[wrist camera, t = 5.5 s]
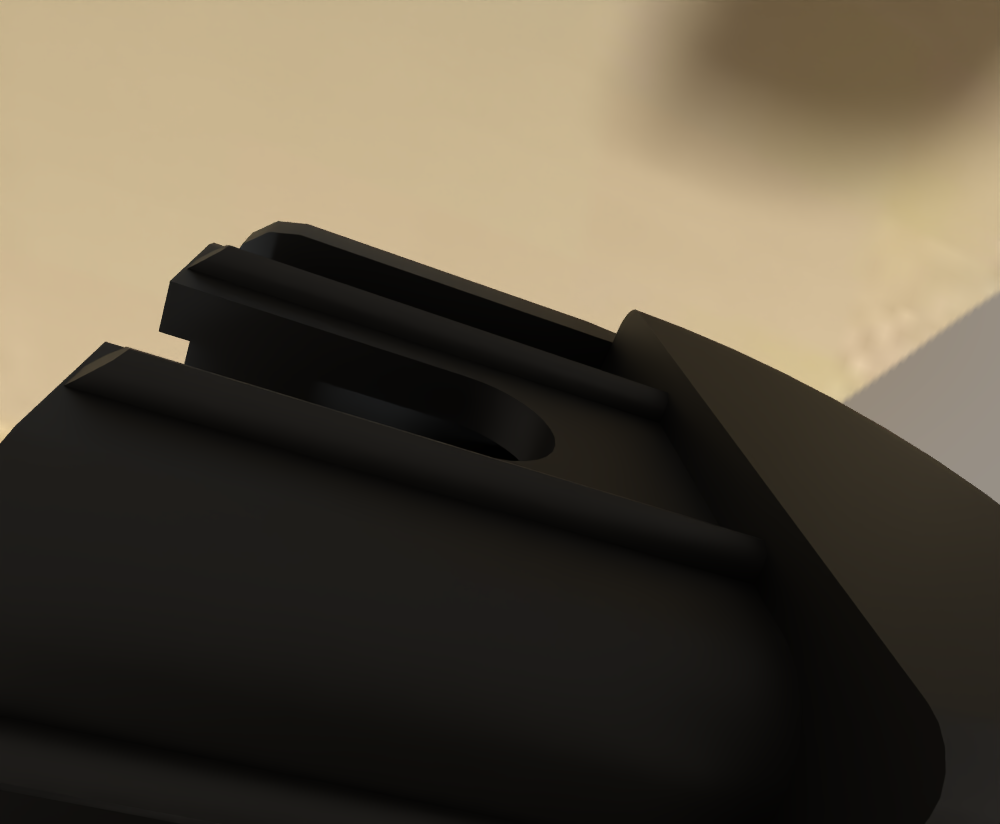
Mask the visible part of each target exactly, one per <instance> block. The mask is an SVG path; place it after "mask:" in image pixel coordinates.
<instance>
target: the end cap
mask: <svg viewBox="0 0 1000 824" xmlns="http://www.w3.org/2000/svg"><path fill="white" fill-rule="evenodd" d="M159 332H162V333H165V334H168V335H172V336H175V337H178V338H181V339H185V340H188V341H190V343H189V347H188V351H187V355H186V359H185V364H182V363H178V362H175V361H172V360H168V359H165V358H162V357H159V356H155V355H152V354H149V353H145V352H142V351H139V350H135V349H132V348H129V347H125V348H124V347H121V346H118V345H114V344H111V343H108V342H104V343H103V344H102V345H101V346H100V347H99V348H98V349H97V350H96V351H95V352H94V353H93V354H92V355H91V356H89V357H88V358H87V359H86V360H85V361H84V362H83V363H82V364H81V365H80V366H79V367H78V368H77V369H76V370H75V371H73V372H72V373H71V374H70V375H69V376H68V377H67V378H66V379H65V380H64V381H63V382H62V383H61V384H60V385H59V386H57V387H56V388H55V389H54V390H53V391H52V392H51V393H50V394H49V395H48V396H47V397H46V398H45V399H44V400H42V401H41V402H40V403H39V404H38V405H37V406H36V407H35V408H34V409H33V410H32V411H31V412H30V413H29V414H28V415H26V416H25V417H24V418H23V419H22V420H21V421H20V422H19V423H18V424H17V425H16V426H15V427H14V428H13V429H12V430H11V432H10V433H9V434H8V435H7V436H6V437H5V439H4V440H3V441H2V442H1V443H0V824H1000V505H999V504H998V503H997V502H995V501H994V500H993V499H992V498H990V497H989V496H988V495H986V494H985V493H983V492H982V491H981V490H979V489H978V488H976V487H975V486H973V485H972V484H971V483H969V482H968V481H966V480H965V479H963V478H962V477H960V476H959V475H958V474H956V473H955V472H953V471H951V470H950V469H949V468H947V467H946V466H944V465H943V464H942V463H940V462H939V461H937V460H935V459H934V458H933V457H931V456H929V455H928V454H926V453H924V452H922V451H921V450H920V449H918V448H916V447H915V446H913V445H911V444H910V443H908V442H907V441H905V440H904V439H902V438H900V437H899V436H897V435H896V434H894V433H892V432H891V431H889V430H887V429H886V428H884V427H882V426H881V425H879V424H877V423H875V422H874V421H872V420H870V419H868V418H867V417H865V416H863V415H861V414H859V413H858V412H856V411H854V410H853V409H851V408H849V407H847V406H845V405H844V404H842V403H840V402H838V401H837V400H835V399H833V398H831V397H829V396H827V395H825V394H823V393H821V392H819V391H818V390H816V389H814V388H812V387H810V386H808V385H806V384H804V383H802V382H800V381H798V380H796V379H794V378H792V377H791V376H789V375H787V374H785V373H783V372H781V371H778V370H776V369H774V368H772V367H770V366H768V365H766V364H764V363H761V362H759V361H757V360H755V359H753V358H751V357H749V356H747V355H745V354H742V353H740V352H738V351H736V350H734V349H732V348H729V347H727V346H725V345H722V344H720V343H718V342H715V341H713V340H711V339H708V338H706V337H704V336H701V335H699V334H696V333H694V332H692V331H689V330H687V329H685V328H682V327H680V326H677V325H674V324H672V323H669V322H666V321H664V320H661V319H659V318H656V317H653V316H651V315H648V314H645V313H643V312H640V311H638V310H632V311H631V312H630V313H628V314H627V316H626V317H625V319H624V320H623V322H622V324H621V325H620V327H619V329H618V332H617V334H616V333H613V332H611V331H609V330H606V329H604V328H601V327H599V326H597V325H594V324H592V323H589V322H587V321H584V320H581V319H578V318H575V317H573V316H570V315H567V314H564V313H561V312H558V311H555V310H552V309H550V308H547V307H544V306H541V305H538V304H535V303H532V302H530V301H527V300H524V299H521V298H518V297H515V296H512V295H510V294H507V293H504V292H501V291H498V290H495V289H492V288H489V287H487V286H484V285H481V284H478V283H475V282H472V281H469V280H467V279H464V278H461V277H458V276H455V275H452V274H449V273H446V272H444V271H441V270H438V269H435V268H432V267H429V266H426V265H424V264H421V263H418V262H415V261H412V260H409V259H406V258H403V257H401V256H398V255H395V254H392V253H389V252H386V251H383V250H381V249H378V248H375V247H372V246H369V245H366V244H363V243H360V242H358V241H355V240H352V239H349V238H346V237H343V236H340V235H338V234H335V233H332V232H329V231H326V230H323V229H320V228H318V227H315V226H312V225H309V224H301V223H291V222H280V221H277V222H275V223H273V224H271V225H269V226H266V227H264V228H262V229H260V230H258V231H256V232H253V233H252V234H251V235H250V236H249V237H248V238H247V240H246V241H245V242H244V243H243V244H242V246H241V247H240V249H239V248H236V247H233V246H230V245H226V246H222V245H219V244H216V243H212V244H209V245H208V246H207V247H206V248H205V249H204V250H203V251H202V252H201V253H200V254H198V255H197V256H196V257H195V258H194V259H193V260H192V261H191V262H190V263H189V264H188V265H187V266H186V267H185V268H183V269H182V270H181V271H180V272H179V273H178V274H177V275H176V276H175V277H174V278H173V279H172V280H171V281H170V284H169V288H168V293H167V297H166V302H165V306H164V310H163V315H162V319H161V324H160V328H159Z"/></svg>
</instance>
